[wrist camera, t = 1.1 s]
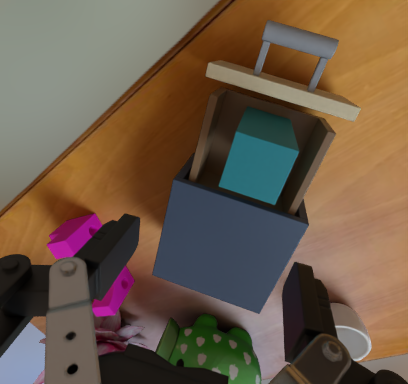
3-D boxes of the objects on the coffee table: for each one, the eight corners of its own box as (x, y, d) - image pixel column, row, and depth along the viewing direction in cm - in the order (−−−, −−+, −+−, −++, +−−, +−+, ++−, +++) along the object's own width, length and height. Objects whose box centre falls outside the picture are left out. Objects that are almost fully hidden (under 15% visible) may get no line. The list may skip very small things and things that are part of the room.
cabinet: (193, 152, 36) (173, 179, 29) (301, 187, 35) (309, 224, 28) (172, 236, 44) (152, 275, 36) (261, 267, 43) (259, 314, 35)
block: (247, 105, 30) (236, 131, 21) (290, 119, 30) (299, 151, 20) (233, 147, 33) (218, 186, 23) (273, 160, 32) (274, 205, 23)
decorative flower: (93, 272, 52) (33, 347, 39) (181, 334, 55) (153, 423, 42) (56, 320, 62) (-1, 392, 49) (132, 370, 65) (97, 450, 52)
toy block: (67, 220, 47) (34, 247, 41) (95, 213, 45) (65, 240, 39) (108, 284, 53) (85, 317, 46) (134, 281, 51) (114, 315, 44)
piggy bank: (181, 289, 49) (149, 375, 36) (275, 330, 48) (277, 433, 35) (162, 333, 56) (128, 418, 43) (243, 369, 55) (235, 467, 42)
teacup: (298, 305, 45) (301, 335, 40) (343, 288, 41) (352, 318, 36) (332, 342, 47) (338, 375, 42) (377, 329, 43) (390, 363, 39)
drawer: (232, 14, 28) (221, 5, 22) (364, 52, 27) (390, 53, 21) (193, 168, 37) (177, 192, 31) (291, 201, 36) (295, 231, 30)
